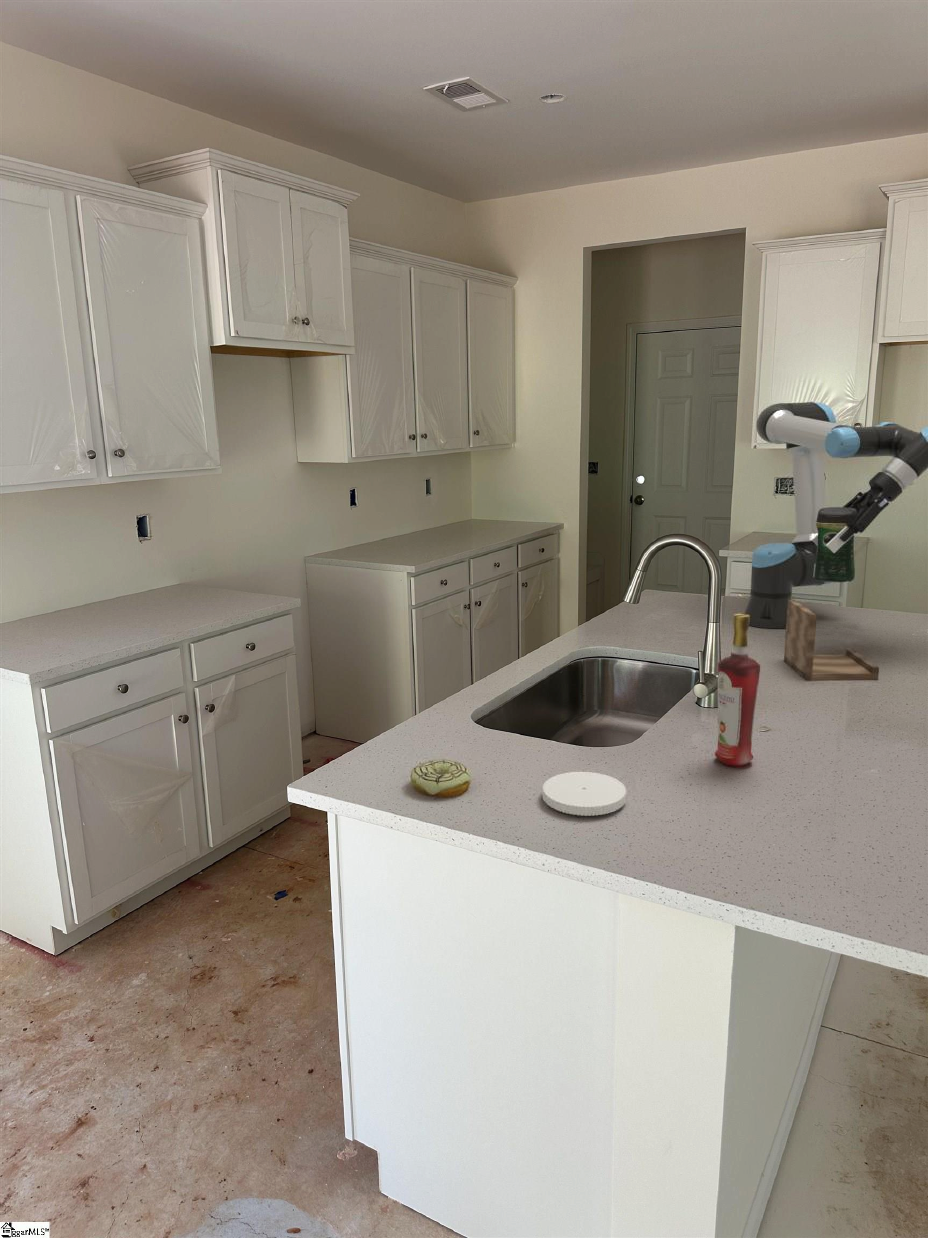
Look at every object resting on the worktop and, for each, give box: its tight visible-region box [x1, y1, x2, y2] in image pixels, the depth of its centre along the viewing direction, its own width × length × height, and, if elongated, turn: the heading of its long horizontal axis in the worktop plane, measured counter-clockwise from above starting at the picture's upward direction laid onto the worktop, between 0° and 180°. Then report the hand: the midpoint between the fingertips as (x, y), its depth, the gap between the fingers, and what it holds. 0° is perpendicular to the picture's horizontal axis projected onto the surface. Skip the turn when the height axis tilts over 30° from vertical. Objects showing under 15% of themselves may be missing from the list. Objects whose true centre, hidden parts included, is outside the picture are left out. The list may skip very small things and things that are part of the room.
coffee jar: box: [813, 506, 857, 583], centre depth 221 cm, size 10×8×19 cm
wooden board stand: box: [783, 599, 880, 681], centre depth 214 cm, size 16×17×16 cm
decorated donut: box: [409, 758, 472, 798], centre depth 154 cm, size 10×11×4 cm
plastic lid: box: [542, 771, 627, 817], centre depth 148 cm, size 14×14×2 cm
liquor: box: [714, 613, 761, 768], centre depth 159 cm, size 7×7×28 cm
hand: (822, 546), depth 221 cm, fingers closed on coffee jar, 9 cm apart
